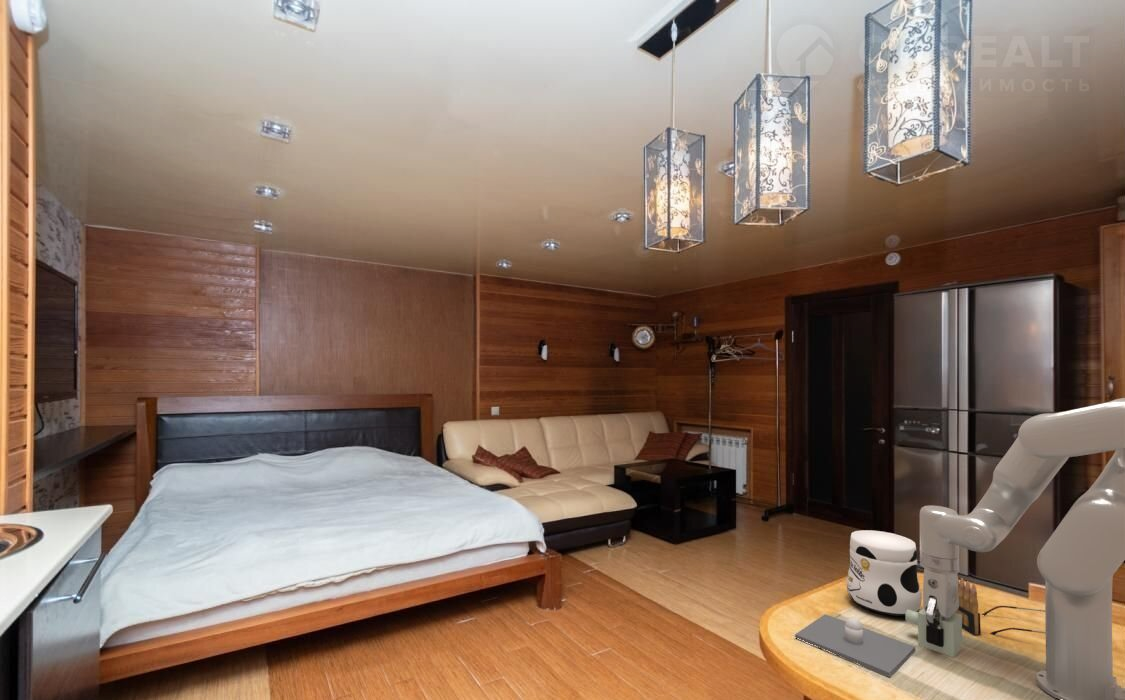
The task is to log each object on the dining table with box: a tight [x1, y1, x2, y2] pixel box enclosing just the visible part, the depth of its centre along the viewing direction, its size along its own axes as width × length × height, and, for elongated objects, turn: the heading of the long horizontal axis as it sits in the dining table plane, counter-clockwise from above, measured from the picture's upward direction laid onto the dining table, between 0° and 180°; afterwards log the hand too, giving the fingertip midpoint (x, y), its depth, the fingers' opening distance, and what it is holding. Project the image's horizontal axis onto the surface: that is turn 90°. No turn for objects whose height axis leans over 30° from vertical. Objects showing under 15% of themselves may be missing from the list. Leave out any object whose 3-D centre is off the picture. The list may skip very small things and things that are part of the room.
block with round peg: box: [904, 608, 963, 658], centre depth 123 cm, size 10×7×7 cm
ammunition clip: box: [955, 575, 982, 636], centre depth 132 cm, size 11×2×12 cm, turn 3°
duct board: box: [794, 613, 916, 678], centre depth 122 cm, size 20×16×6 cm
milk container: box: [845, 529, 923, 617], centre depth 142 cm, size 17×17×18 cm
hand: (939, 638), depth 122 cm, fingers closed on block with round peg, 6 cm apart
